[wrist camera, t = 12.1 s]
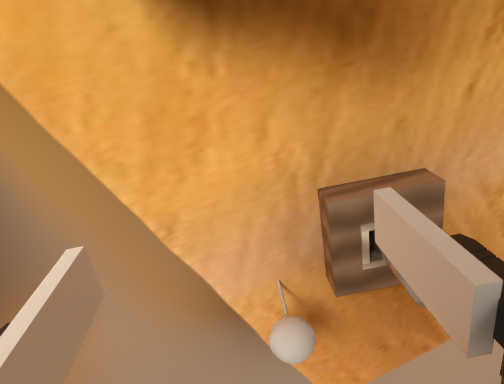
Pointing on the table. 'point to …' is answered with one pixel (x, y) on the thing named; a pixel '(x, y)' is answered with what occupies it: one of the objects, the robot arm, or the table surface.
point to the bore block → (369, 227)
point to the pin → (394, 269)
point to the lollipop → (292, 337)
